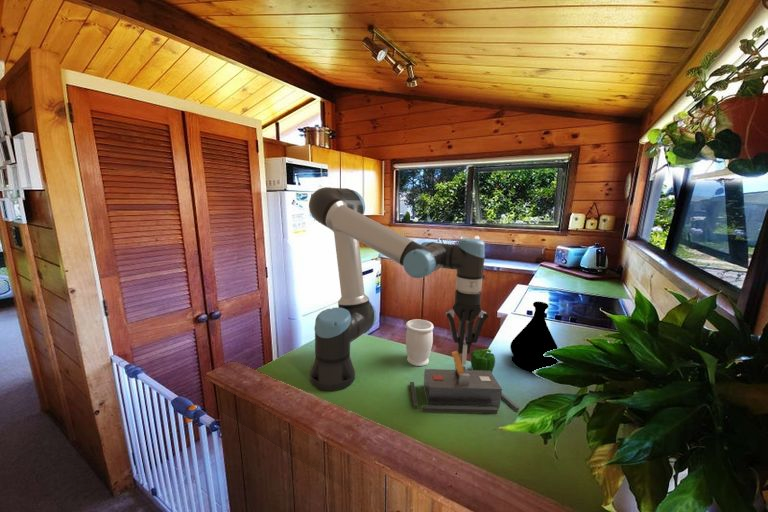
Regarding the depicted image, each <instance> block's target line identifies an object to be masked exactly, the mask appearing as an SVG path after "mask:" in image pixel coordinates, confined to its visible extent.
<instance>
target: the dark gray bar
mask: <svg viewBox="0 0 768 512" xmlns="http://www.w3.org/2000/svg"><path fill="white" fill-rule="evenodd" d="M498 411H499V410H498V408H497V407H492V406H449V405H422V412H423V413H457V414H458V413H460V414H461V413H463V414H498Z"/></svg>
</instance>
